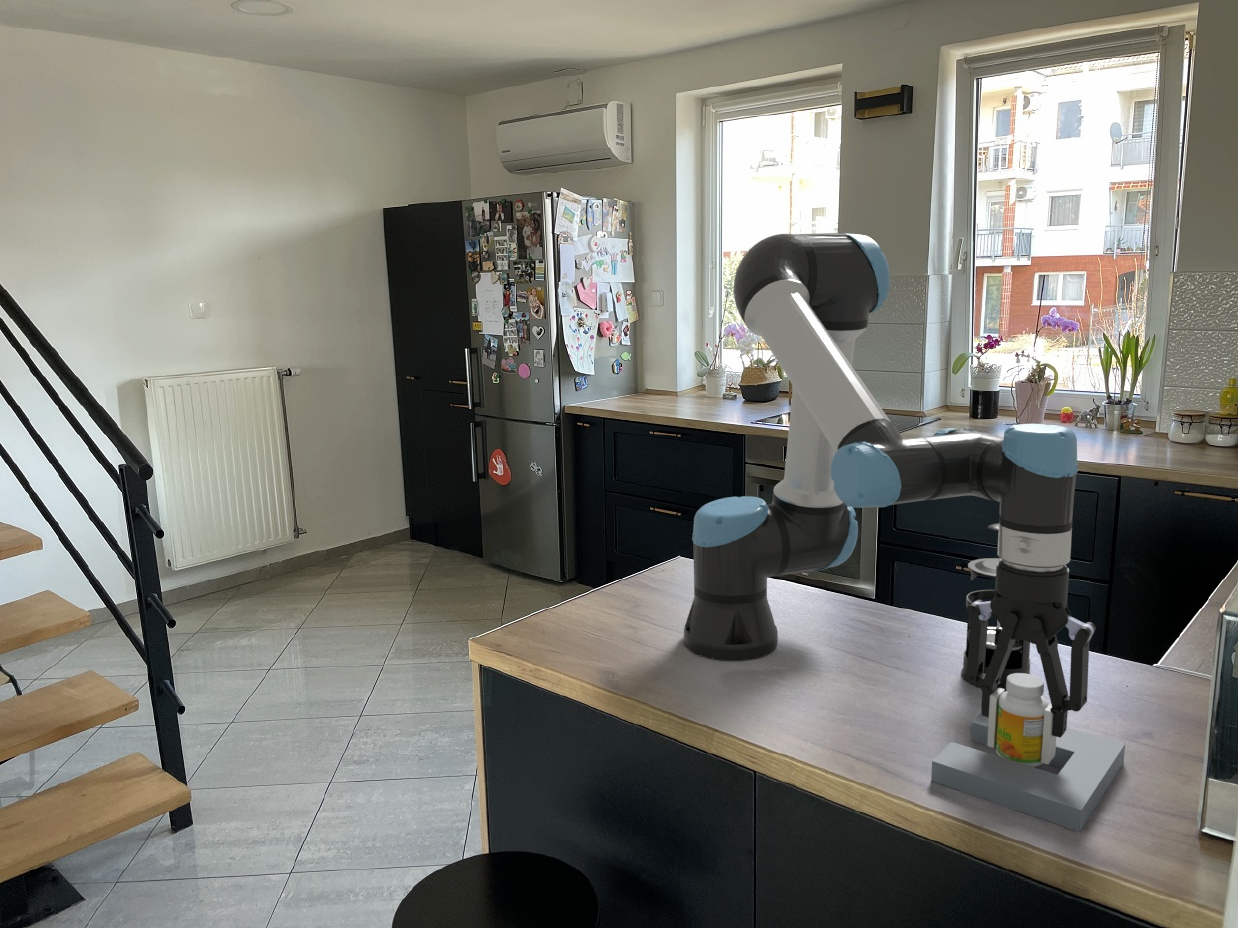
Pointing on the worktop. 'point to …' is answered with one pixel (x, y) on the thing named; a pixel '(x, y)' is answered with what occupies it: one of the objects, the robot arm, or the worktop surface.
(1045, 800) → the notched board
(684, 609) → the worktop surface
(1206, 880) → the worktop surface
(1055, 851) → the worktop surface
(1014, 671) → the french press
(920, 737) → the worktop surface
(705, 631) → the robot arm
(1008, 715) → the supplement bottle
